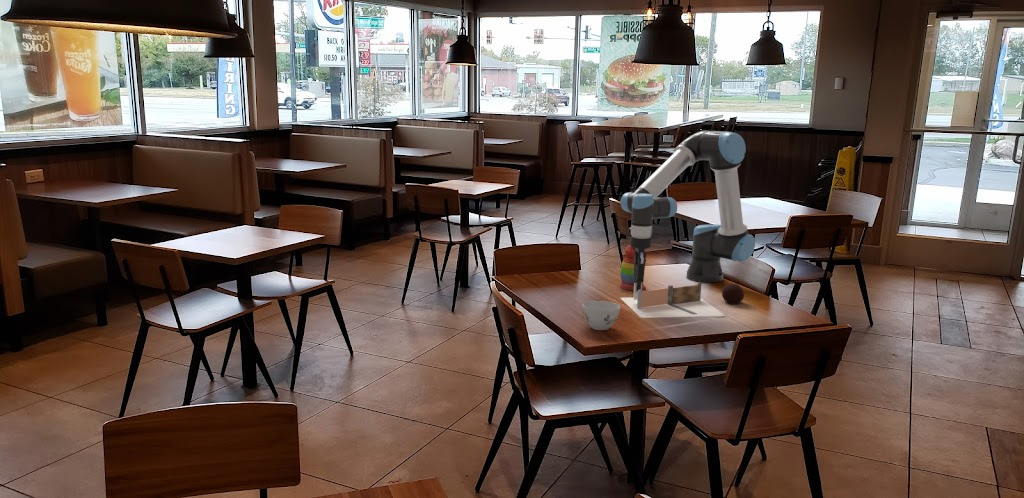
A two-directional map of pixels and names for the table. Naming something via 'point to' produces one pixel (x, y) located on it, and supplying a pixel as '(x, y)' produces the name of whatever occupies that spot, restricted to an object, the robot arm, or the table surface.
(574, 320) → the table surface
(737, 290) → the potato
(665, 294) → the fence panel
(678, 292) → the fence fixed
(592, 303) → the teacup
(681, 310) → the board
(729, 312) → the table surface
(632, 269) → the stacking bear
